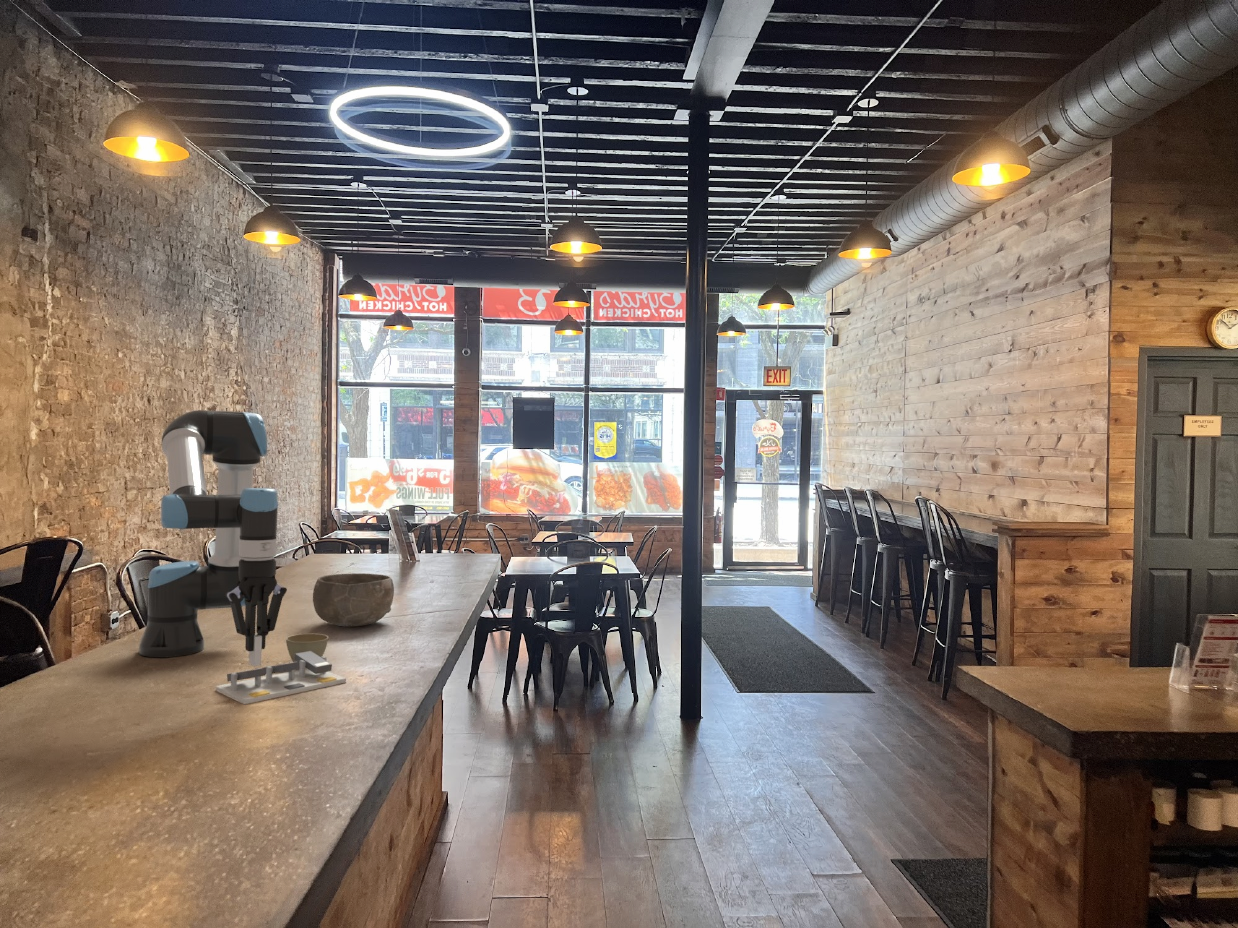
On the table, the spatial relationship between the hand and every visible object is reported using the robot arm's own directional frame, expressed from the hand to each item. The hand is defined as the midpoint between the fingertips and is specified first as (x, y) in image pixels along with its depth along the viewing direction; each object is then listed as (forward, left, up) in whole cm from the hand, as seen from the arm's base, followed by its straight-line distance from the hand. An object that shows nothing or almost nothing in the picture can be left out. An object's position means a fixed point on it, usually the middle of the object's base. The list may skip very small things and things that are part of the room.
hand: (254, 664), depth 177 cm
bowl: (-50, +55, -7) cm, 75 cm away
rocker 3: (-4, +16, -3) cm, 17 cm away
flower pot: (-16, +21, -7) cm, 27 cm away
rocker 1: (-4, 0, -3) cm, 5 cm away
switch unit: (-3, +8, -7) cm, 11 cm away
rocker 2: (-4, +8, -3) cm, 9 cm away
